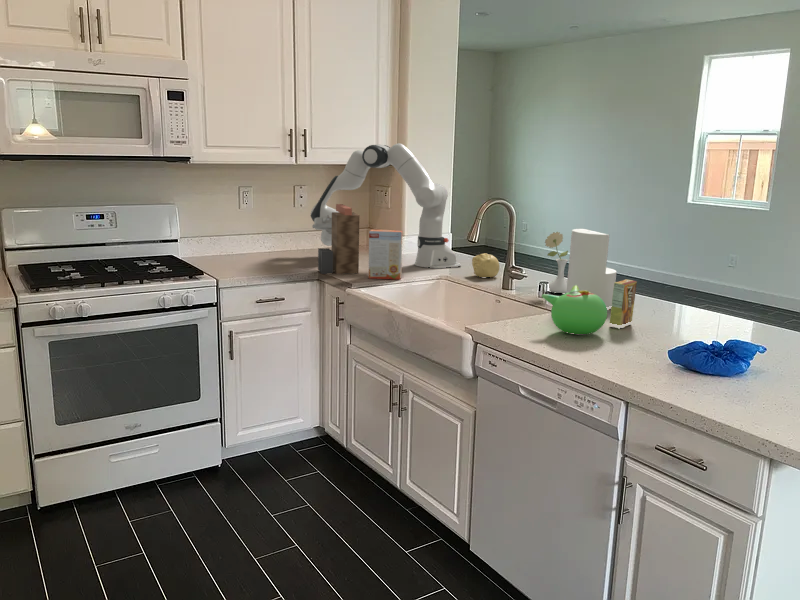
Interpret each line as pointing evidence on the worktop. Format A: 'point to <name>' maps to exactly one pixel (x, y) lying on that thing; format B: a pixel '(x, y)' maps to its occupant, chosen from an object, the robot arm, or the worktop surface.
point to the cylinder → (591, 264)
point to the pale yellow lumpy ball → (485, 265)
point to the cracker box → (385, 254)
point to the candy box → (623, 302)
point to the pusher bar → (343, 209)
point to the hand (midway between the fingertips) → (337, 216)
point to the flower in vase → (559, 283)
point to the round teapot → (577, 311)
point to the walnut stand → (345, 242)
